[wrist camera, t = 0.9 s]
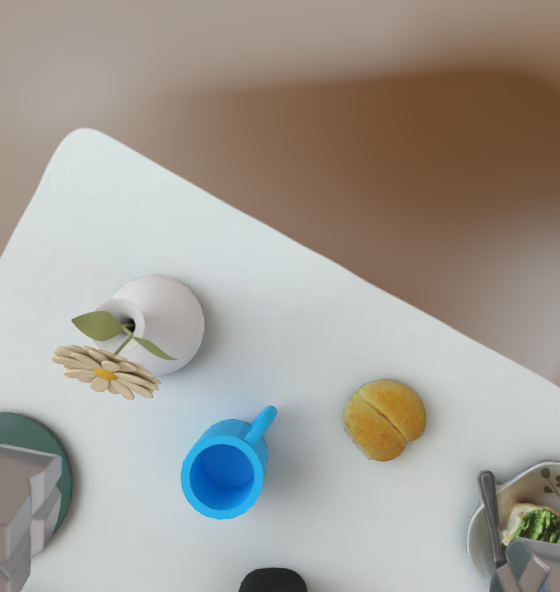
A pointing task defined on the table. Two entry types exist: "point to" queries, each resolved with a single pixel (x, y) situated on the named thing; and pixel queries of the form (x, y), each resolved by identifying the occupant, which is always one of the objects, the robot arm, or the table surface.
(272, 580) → the sushi
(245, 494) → the mug
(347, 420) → the bread roll
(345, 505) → the table surface
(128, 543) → the table surface
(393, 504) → the table surface
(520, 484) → the salad plate
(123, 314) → the flower in vase
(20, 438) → the lid
